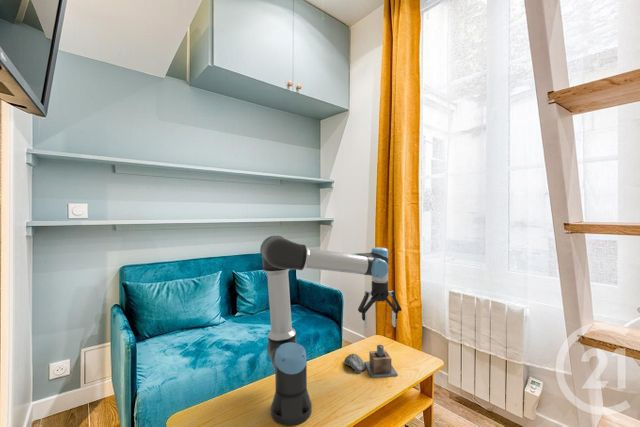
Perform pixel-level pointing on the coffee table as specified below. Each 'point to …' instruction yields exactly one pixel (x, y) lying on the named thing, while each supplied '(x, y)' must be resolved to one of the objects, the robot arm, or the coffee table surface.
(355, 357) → the fossilized seashell
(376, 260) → the robot arm
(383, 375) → the knob on metal plate
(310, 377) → the coffee table surface
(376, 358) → the collar
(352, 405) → the coffee table surface
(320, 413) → the coffee table surface
